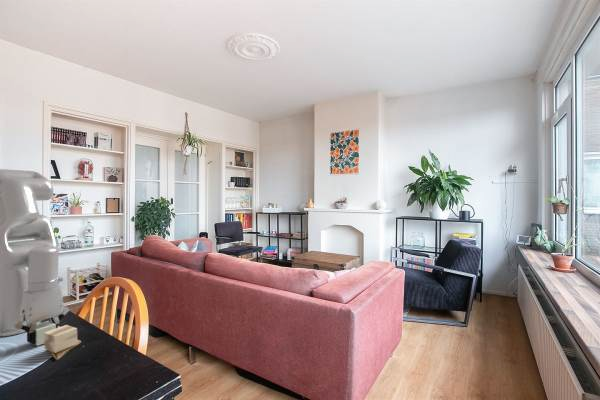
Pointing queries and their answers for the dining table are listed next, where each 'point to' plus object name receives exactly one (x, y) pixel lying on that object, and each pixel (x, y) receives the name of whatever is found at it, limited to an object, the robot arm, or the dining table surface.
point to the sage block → (43, 331)
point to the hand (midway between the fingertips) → (42, 338)
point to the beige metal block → (60, 338)
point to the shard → (63, 351)
